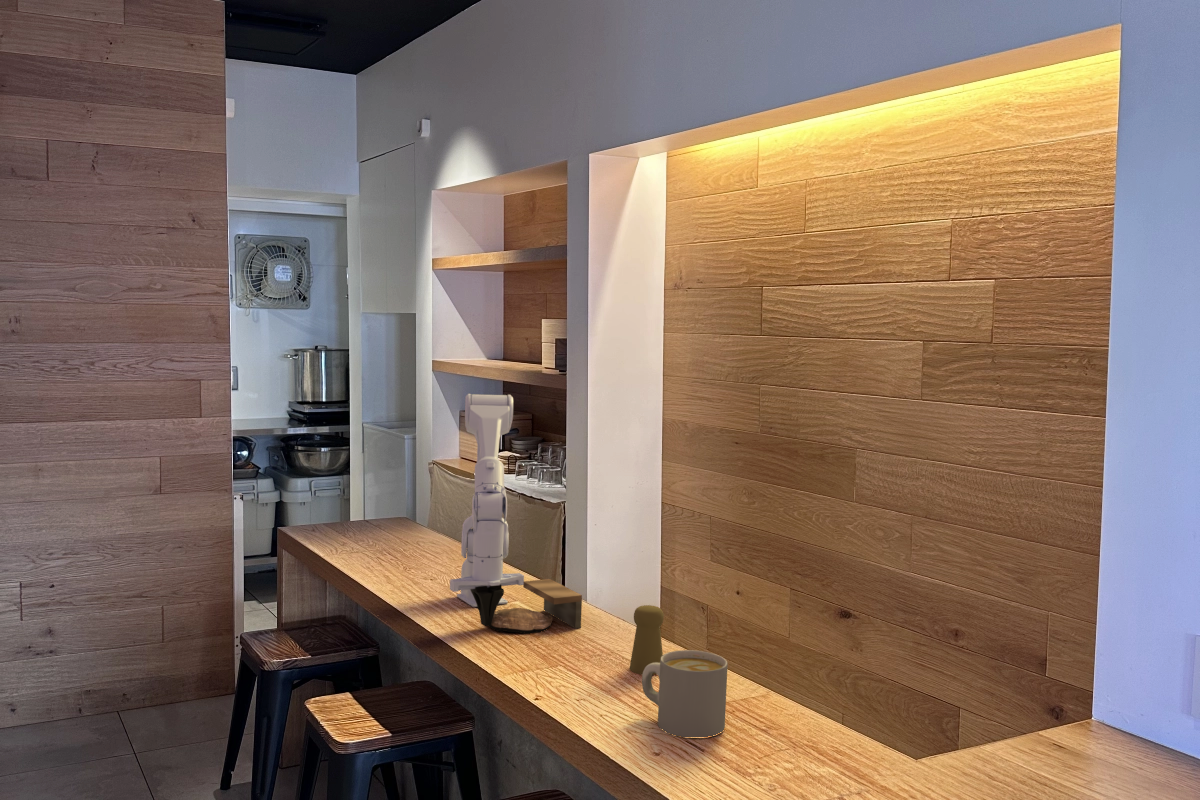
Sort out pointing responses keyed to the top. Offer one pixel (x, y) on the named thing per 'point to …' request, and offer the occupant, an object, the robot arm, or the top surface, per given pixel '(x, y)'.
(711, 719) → the coffee mug
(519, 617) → the shell
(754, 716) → the top surface
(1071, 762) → the top surface
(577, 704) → the top surface
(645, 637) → the olive pepper mill
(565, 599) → the walnut shelf
